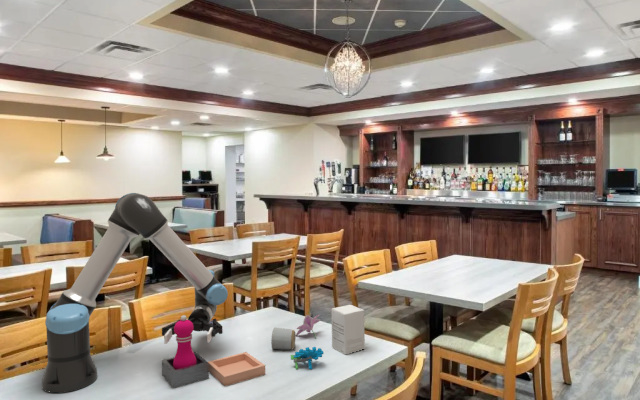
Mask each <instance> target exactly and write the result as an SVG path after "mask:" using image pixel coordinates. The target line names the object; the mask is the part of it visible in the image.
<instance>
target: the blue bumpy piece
mask: <svg viewBox="0 0 640 400" xmlns="http://www.w3.org/2000/svg"><path fill="white" fill-rule="evenodd" d="M311 348H312V349H311ZM311 348H310V346H307V347H305V349H303V348H299V350H298V351H295V353H294V354H290V360H291V361H293V363H294V364H295V370H298V369H299V365H298V363H305V362H307V364H308V370H313V365H312V361H313V360H315V361H317V360H319V358H322V357H323V355H324V351H323V350H322V349H323V348H321V347H318V348H317V347H316V346H313V347H311Z"/></svg>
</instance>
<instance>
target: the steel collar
mask: <svg viewBox="0 0 640 400" xmlns="http://www.w3.org/2000/svg"><path fill="white" fill-rule="evenodd" d="M193 353H194V355H195V357H196V362H197V364H196V365H192V366H188V367H184V368H181V369H177V370H175V369H174V368H173V361H174V357H175V356H172V357H168V358H163V359H161V375H162V377H163V378H164V379H165V381H166V382H167V383H168V384H169V386H170V387H171V388H172V389H176V388H179V387H183V386H187V385H189V384H193V383H197V382H201V381H203V380H207V379H210V372H209V363H208V362H209V361H207V360H206V359H205V358H203V356H201V355H200V354H199V353H198V352H197V351H193Z"/></svg>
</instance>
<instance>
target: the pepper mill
mask: <svg viewBox="0 0 640 400" xmlns="http://www.w3.org/2000/svg"><path fill="white" fill-rule="evenodd" d="M179 320H180V321H178V322H177V323H176V324H175V326H174V332H175V334H174V335H176V336H175V338H176V339H175V341H176V342H177V349H176V352H175V355H174V356H173V357H174V361H173V368H174V369H175V370H177V369H181V368H184V367H188V366H192V365H196V364H197V362H196V357H195V355H194V353H193V352H194V351H193V348H192V340H193V334H192V333H193V331H194V330H193V329H194V327H193V323H192V322H191V321H189V320H188V319H187V316H186V315H181V316H180V319H179Z"/></svg>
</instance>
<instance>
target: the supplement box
mask: <svg viewBox="0 0 640 400" xmlns="http://www.w3.org/2000/svg"><path fill="white" fill-rule="evenodd" d="M330 312H331V348H332V347H333V348H332V349H334V350H336V351H338V352H339V351H340V352H339V353H341V352H342V354H343V355H345V354H347V355H350V354H349V353H351V354H353V353H352V352H354V353H357V352H356V351H358V352H360V351H359V350H361V351H363V350H362V349H364V350H366V345H365V341H366V340H365V337H366V336H365V309H362V308H359V307H357V306H355V305H353V304H346V305H342V306H337V307H333V308H331V310H330Z"/></svg>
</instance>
